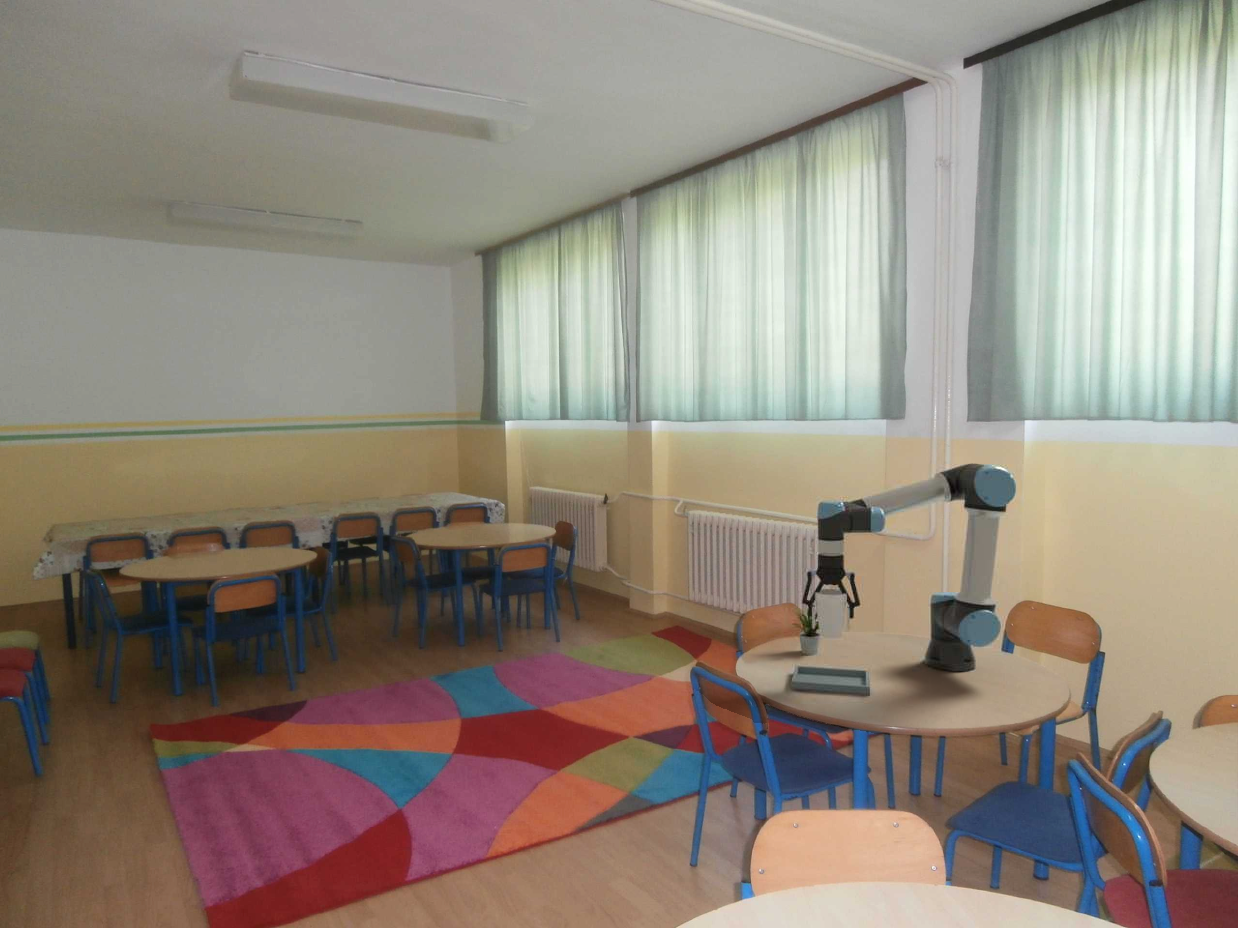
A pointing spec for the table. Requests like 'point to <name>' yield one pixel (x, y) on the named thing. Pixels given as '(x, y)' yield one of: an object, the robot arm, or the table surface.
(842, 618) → the foam cup
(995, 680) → the table surface
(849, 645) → the table surface
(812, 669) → the tray
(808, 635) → the house plant
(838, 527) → the robot arm
